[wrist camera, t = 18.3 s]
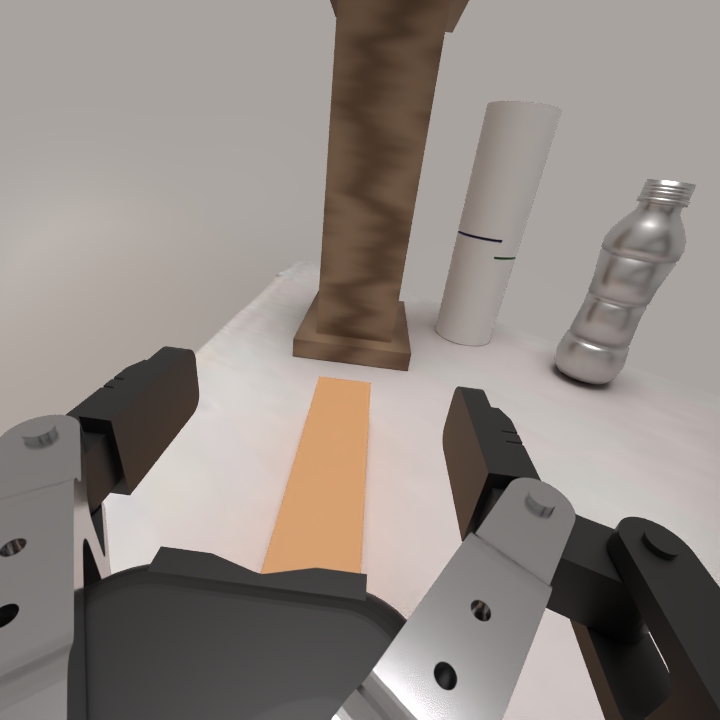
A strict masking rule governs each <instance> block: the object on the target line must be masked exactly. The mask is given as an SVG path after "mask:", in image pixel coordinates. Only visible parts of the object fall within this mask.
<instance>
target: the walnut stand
mask: <svg viewBox="0 0 720 720" xmlns="http://www.w3.org/2000/svg"><path fill="white" fill-rule="evenodd" d="M330 1H331V4H332V7H333V10H334V13H335V16H336V17H337V19H336V34H335V50H334V65H333V82H332V96H331V113H330V129H329V144H328V159H327V175H326V190H325V206H324V223H323V237H322V253H321V254H322V255H321V269H320V284H319V291H318V293H317V295H316V297H315V298H314V300H313V302H312V304H311V306H310V308H309V310H308V312H307V314H306V316H305V318H304V320H303V322H302V323H301V325H300V327H299V329H298V331H297V333H296V335H295V337H294V340H293V356H296V357H304V358H312V359H319V360H327V361H335V362H343V363H350V364H358V365H366V366H373V367H381V368H389V369H397V370H404V371H408V366H409V361H410V357H411V350H410V343H409V336H408V329H407V321H406V314H405V307H404V302H402V301H398V300H399V295H400V289H401V283H402V277H403V272H404V266H405V260H406V254H407V248H408V243H409V237H410V231H411V225H412V219H413V214H414V207H415V202H416V196H417V191H418V185H419V179H420V173H421V167H422V162H423V156H424V150H425V144H426V138H427V133H428V127H429V121H430V115H431V109H432V104H433V97H434V92H435V86H436V80H437V74H438V69H439V63H440V57H441V52H442V46H443V40H444V34H445V32H451V33H452V32H453V30H454V28H455V26H456V24H457V23H458V21H459V19H460V17H461V15H462V13H463V11H464V9H465V7H466V5H467V3H468V1H469V0H330Z"/></svg>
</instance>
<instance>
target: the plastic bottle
mask: <svg viewBox="0 0 720 720" xmlns="http://www.w3.org/2000/svg"><path fill="white" fill-rule="evenodd" d="M695 186H696V185H695V184H688V183H681V182H672V181H663V180H650V179H648V180H647V182H645V185H644V187H643V190H642V192H641V194H640V196H638V198H637V201H640V203H639V205H638V207H637V208H636V209H635V210H634V211H633V212H631V213H630V214H628V215H627V216H626V217H624V218H623V219H622V220H621V221H619V222H618V223H617V224H616V225H615V226H613V227H612V228H611V230H610V231H609V232H608V233H607V235H606V236H605V238H604V241H603V243H602V249H601V250H600V254H599V258H598V261H597V265H596V269H595V273H594V276H593V279H592V282H591V284H590V287H589V292H588V293H587V295H586V297H585V300H584V303H583V304H582V306H581V308H580V310H579V312H578V314H577V316H576V317H575V319H574V321H573V323H572V325H571V327H570V329H569V330H568V331H567V332H566V333H565V335H564V336H563V338H562V339H561V341H560V343H559V344H558V346H557V351H556V355H555V362H556V365H557V368H558V369H559V370H560V371H561V372H562V373H564V374H565V375H567V376H569V377H571V378H573V379H576V380H579V381H582V382H586V383H591V384H604V383H607V382H609V381H611V380H613V379H614V378H615V377H616V376H617V375H618V373H619V372H620V371H621V370H622V368H623V366H624V364H625V361H626V358H627V354H628V350H629V347H628V346H629V345H630V342H631V340H632V338H633V336H634V333H635V331H636V328H637V326H638V323H639V321H640V319H641V316H642V315H643V313H644V311H645V310H646V306H647V305H648V304H649V303H650V301H651V300H652V298H653V296H654V294H655V293H656V291H657V290H658V288H659V287H660V285H661V284H662V283H663V281H664V280H665V279H666V277H667V276H668V274H669V273H670V272H671V270H672V269H673V267H674V266H675V265H676V264H675V263H676V262H677V261H679V259H680V257H681V255H682V254H683V253H684V249H685V243H686V237H685V231H684V227H683V223H682V220H681V217H680V213H681V210H682V208H683V207H688V205H689V203H690V202H689V200H690V198H691V196H692V194H693V192H694V189H695Z"/></svg>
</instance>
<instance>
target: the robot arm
mask: <svg viewBox="0 0 720 720" xmlns="http://www.w3.org/2000/svg"><path fill="white" fill-rule="evenodd" d="M198 401H199V387H198V377H197V368H196V358H195V354H194V352H193V351H192V350H189V349H182V348H174V347H167V346H166V347H163V348H162V349H160V350H159V351H158V352H157V353H155V354H154V355H153V356H152V357H151V358H150V359H148V360H143V361H141V362H138V363H136V364H134V365H131V366H129V367H127V368H125V369H124V370H123V371H122V372H120V373H119V374H118V375H116V376H115V377H114V379H112V380H110V381H109V382H108V383H106V384H105V385H104V387H103V388H100V389H98V390H97V391H96V392H94V393H93V394H92V395H91V396H89V397H88V398H87V399H85V400H84V401H83V402H82V403H81V404H79V405H78V406H77V407H75V408H74V409H73V410H71V411H70V412H69V413H67V414H66V415H48V416H42V417H38V418H34V419H31V420H28V421H25V422H23V423H21V424H18V425H16V426H14V427H13V428H11V429H9V430H8V431H7V432H5V433H4V434H3V435H2V436H1V437H0V720H502V719H503V717H504V714H505V712H506V709H507V706H508V704H509V701H510V699H511V696H512V694H513V691H514V688H515V686H516V683H517V681H518V678H519V675H520V673H521V670H522V668H523V665H524V662H525V660H526V657H527V655H528V652H529V649H530V647H531V644H532V642H533V639H534V636H535V634H536V631H537V629H538V626H539V624H540V621H541V618H542V616H543V613H544V611H545V608H548V609H550V610H552V611H554V612H556V613H559V614H561V615H563V616H565V617H567V618H569V619H570V621H571V624H572V627H573V630H574V633H575V635H576V638H577V641H578V644H579V647H580V650H581V652H582V655H583V658H584V661H585V664H586V667H587V669H588V672H589V675H590V678H591V681H592V684H593V686H594V689H595V692H596V695H597V698H598V701H599V703H600V706H601V709H602V712H603V715H604V718H605V720H720V587H719V586H718V585H717V583H716V582H715V581H714V579H713V578H712V577H711V575H710V574H709V573H708V571H707V570H706V568H705V567H704V566H703V564H702V563H701V562H700V560H699V559H698V558H697V556H696V555H695V554H694V552H693V551H692V550H691V549H690V547H689V546H688V545H687V544H686V543H685V542H684V541H682V540H681V539H680V538H679V537H678V536H676V535H675V534H674V533H672V532H671V531H669V530H668V529H666V528H665V527H663V526H661V525H659V524H657V523H655V522H652V521H650V520H647V519H644V518H639V517H627V518H624V519H622V520H621V521H620V523H619V524H618V525H617V527H616V528H615V529H612V528H610V527H607V526H604V525H602V524H599V523H596V522H594V521H591V520H589V519H586V518H583V517H581V516H579V515H576V514H575V511H574V509H573V507H572V505H571V503H570V502H569V500H568V499H567V498H566V497H565V496H564V495H563V494H562V493H561V492H559V491H558V490H557V489H555V488H554V487H552V486H551V485H549V484H547V483H545V482H542V481H541V480H540V478H539V476H538V474H537V472H536V469H535V467H534V465H533V463H532V461H531V459H530V457H529V455H528V453H527V451H526V449H525V447H524V446H523V445H522V441H521V439H520V437H519V435H517V431H516V429H515V427H514V425H513V423H512V421H511V419H510V418H509V417H507V416H506V415H505V414H504V413H503V412H502V411H501V410H500V409H499V408H493V407H491V406H490V404H489V401H488V399H487V397H486V394H485V392H484V391H483V390H481V389H474V388H466V387H459V386H458V387H457V388H456V389H455V392H454V395H453V398H452V402H451V405H450V409H449V412H448V416H447V419H446V423H445V426H444V431H443V450H444V455H445V460H446V465H447V470H448V475H449V480H450V485H451V489H452V494H453V499H454V504H455V509H456V514H457V519H458V524H459V529H460V534H461V539H462V542H463V543H462V544H461V546H460V547H459V549H458V550H457V551H456V553H455V554H454V556H453V557H452V558H451V560H450V561H449V563H448V564H447V565H446V567H445V568H444V570H443V571H442V572H441V574H440V575H439V577H438V578H437V580H436V581H435V582H434V584H433V585H432V587H431V588H430V589H429V591H428V592H427V594H426V595H425V596H424V598H423V599H422V601H421V602H420V604H419V605H418V606H417V608H416V609H415V611H414V612H413V613H412V615H411V616H410V618H409V619H408V620H406V619H405V618H404V617H403V616H402V615H401V614H400V613H399V612H398V611H397V610H396V609H394V608H393V607H392V606H390V605H389V604H388V603H386V602H385V601H383V600H381V599H380V598H378V597H376V596H374V595H372V594H370V593H368V592H366V583H367V574H361V573H354V572H346V571H339V570H331V569H324V568H317V567H316V568H308V569H300V570H291V571H283V572H275V573H266V574H260V573H256V572H253V571H251V570H249V569H246V568H244V567H242V566H239V565H237V564H235V563H233V562H230V561H228V560H226V559H223V558H221V557H219V556H217V555H214V554H212V553H205V552H198V551H191V550H183V549H176V548H168V547H160V549H159V551H158V552H157V554H156V556H155V557H154V559H153V561H152V563H151V564H147V565H142V566H137V567H133V568H129V569H126V570H123V571H120V572H117V573H115V574H112V575H111V570H110V559H109V547H108V536H107V524H106V512H105V506H104V503H103V500H104V499H105V498H106V497H107V496H108V495H109V493H117V494H124V495H131V493H132V492H133V491H134V489H135V488H136V487H137V486H138V484H139V483H140V482H141V480H142V479H143V478H144V477H145V475H146V474H147V473H148V471H149V470H150V469H151V468H152V466H153V465H154V464H155V462H156V461H157V460H158V459H159V457H160V456H161V455H162V453H163V452H164V451H165V450H166V448H167V447H168V446H169V444H170V443H171V442H172V441H173V439H174V438H175V437H176V435H177V434H178V433H179V432H180V430H181V429H182V428H183V427H184V425H185V424H186V423H187V421H188V420H189V419H190V418H191V416H192V415H193V414H194V412H195V410H196V408H197V405H198ZM649 631H650V633H651V635H652V637H653V639H654V641H655V643H656V645H657V647H658V649H659V651H660V653H661V654H662V656H663V658H664V660H665V662H666V665H667V667H668V670H669V672H668V670H667V668H666V666H665V664H664V662H663V660H662V658H661V656H660V654H659V652H658V650H657V648H656V646H655V644H654V642H653V640H652V638H651V637H650V635H649V633H648V632H649ZM669 673H670V674H669Z"/></svg>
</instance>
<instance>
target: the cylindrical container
mask: <svg viewBox="0 0 720 720" xmlns="http://www.w3.org/2000/svg"><path fill="white" fill-rule="evenodd" d="M561 112H562V110H561V109H560V108H558V107H554V106H551V105H546V104H540V103H533V102H521V101H498V102H491V103H488V105H487V109H486V113H485V117H484V122H483V126H482V131H481V135H480V139H479V143H478V148H477V152H476V156H475V161H474V165H473V170H472V174H471V178H470V182H469V187H468V191H467V195H466V199H465V204H464V208H463V212H462V217H461V221H460V225H459V231H458V234H457V238H456V242H455V247H454V251H453V255H452V260H451V264H450V269H449V273H448V277H447V282H446V286H445V290H444V294H443V299H442V303H441V307H440V312H439V316H438V320H437V325H436V332H437V333H438V334H439V335H440V336H441V337H443V338H445V339H447V340H449V341H451V342H454V343H458V344H462V345H468V346H482V345H485V344H488V343H489V341H490V338H491V335H492V332H493V329H494V325H495V322H496V319H497V316H498V312H499V309H500V306H501V303H502V300H503V297H504V293H505V290H506V287H507V284H508V280H509V277H510V274H511V271H512V268H513V265H514V261H515V256H516V255H517V252H518V249H519V246H520V243H521V239H522V236H523V233H524V230H525V227H526V223H527V220H528V217H529V214H530V210H531V207H532V204H533V201H534V198H535V195H536V191H537V188H538V185H539V182H540V179H541V176H542V172H543V169H544V166H545V163H546V160H547V156H548V153H549V150H550V147H551V144H552V140H553V137H554V134H555V131H556V127H557V124H558V121H559V118H560V115H561Z"/></svg>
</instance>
